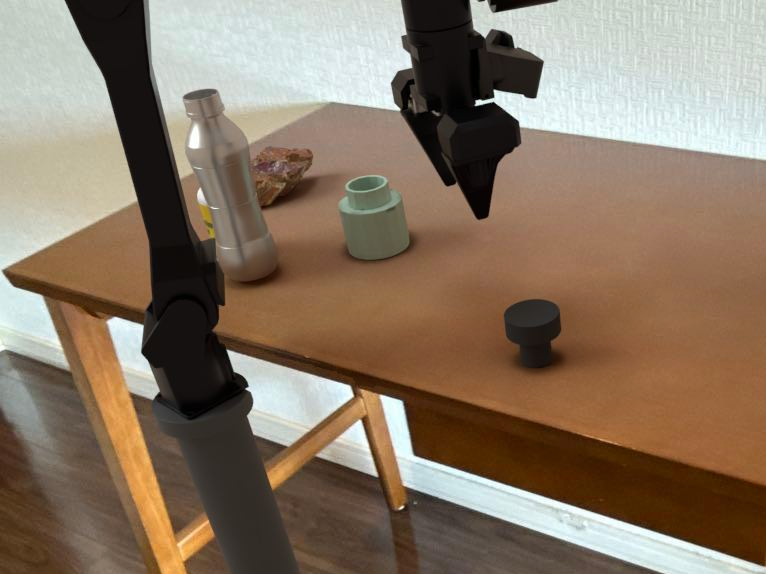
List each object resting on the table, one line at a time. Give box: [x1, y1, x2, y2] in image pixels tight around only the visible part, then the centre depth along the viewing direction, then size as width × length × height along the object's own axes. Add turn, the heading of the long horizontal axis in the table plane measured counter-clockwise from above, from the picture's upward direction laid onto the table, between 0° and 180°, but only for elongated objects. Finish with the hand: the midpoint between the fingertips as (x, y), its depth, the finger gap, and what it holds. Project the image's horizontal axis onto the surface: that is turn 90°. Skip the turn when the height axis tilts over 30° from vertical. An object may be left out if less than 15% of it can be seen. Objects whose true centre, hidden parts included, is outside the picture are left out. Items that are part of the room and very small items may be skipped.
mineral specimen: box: [251, 145, 314, 207], centre depth 133 cm, size 12×8×7 cm
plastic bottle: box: [181, 88, 279, 282], centre depth 110 cm, size 6×7×20 cm
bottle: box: [337, 174, 411, 261], centre depth 117 cm, size 7×7×8 cm
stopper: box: [503, 298, 562, 369], centre depth 95 cm, size 5×5×5 cm
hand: (466, 201), depth 96 cm, fingers open, 9 cm apart
